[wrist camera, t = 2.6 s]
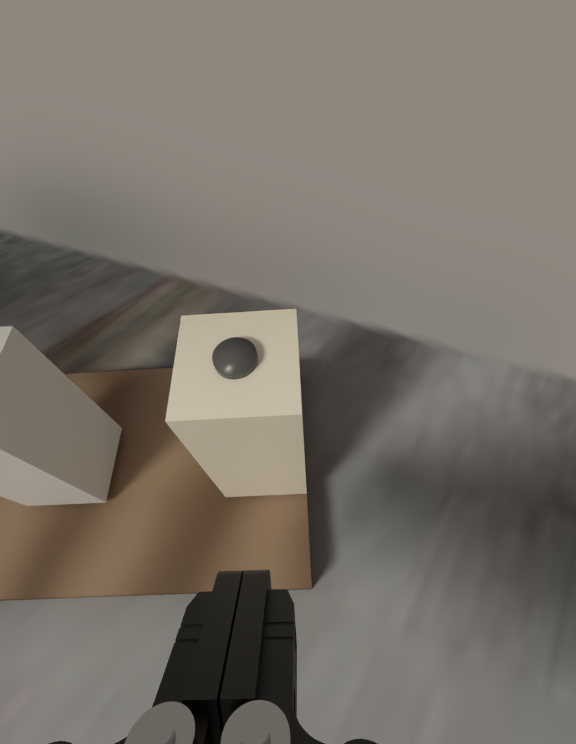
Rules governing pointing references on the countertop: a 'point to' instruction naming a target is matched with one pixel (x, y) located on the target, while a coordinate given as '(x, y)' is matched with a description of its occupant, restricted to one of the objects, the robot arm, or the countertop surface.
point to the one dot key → (241, 400)
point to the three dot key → (50, 431)
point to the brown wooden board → (149, 516)
